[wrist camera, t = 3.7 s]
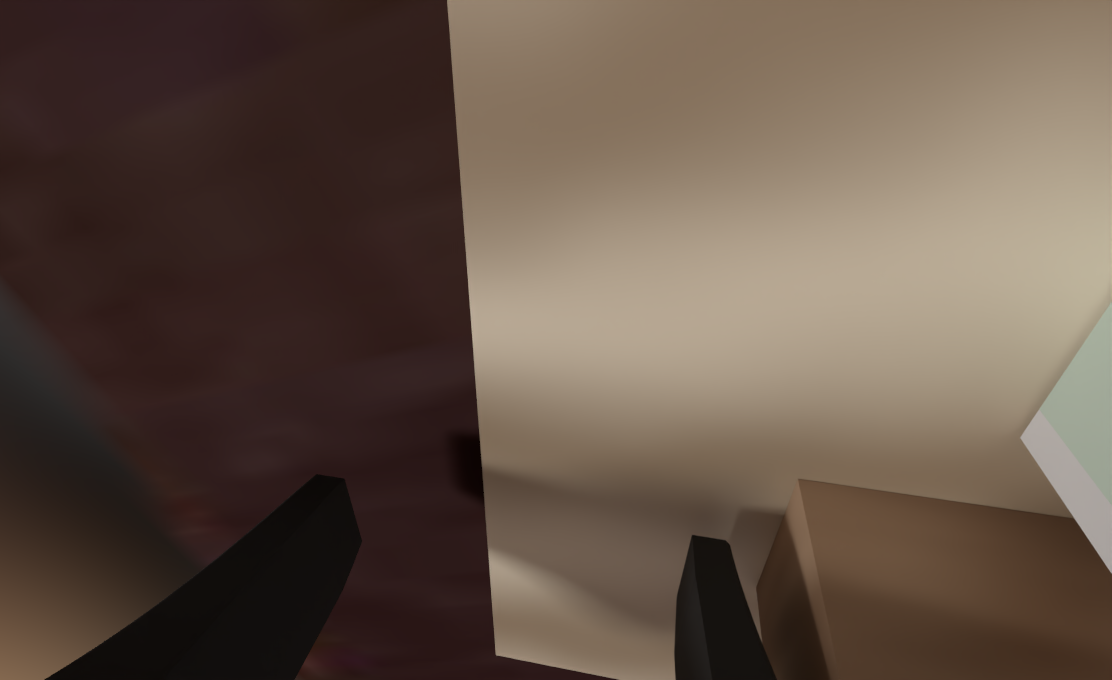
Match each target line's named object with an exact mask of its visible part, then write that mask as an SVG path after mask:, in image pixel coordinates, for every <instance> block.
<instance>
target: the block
mask: <svg viewBox="0 0 1112 680" xmlns="http://www.w3.org/2000/svg"><path fill="white" fill-rule="evenodd" d="M756 592H757V601H758V610H759V618H760V627H761V636H762V644H763V646H764V649H765V651H766V654H767V656H768V659H769V661H770V664H771V666H772V668H773V671H774V673H775V676H776V678H777V680H1112V573H1111V572H1110V570H1109V569H1108V568H1107V566H1106V565H1105V563H1104V562H1103V560H1102V559H1101V557H1100V556H1099V554H1098V553H1097V551H1096V550H1095V548H1094V547H1093V545H1092V544H1091V542H1090V541H1089V539H1088V538H1087V536H1086V535H1085V533H1084V532H1083V530H1082V529H1081V527H1080V526H1079V524H1078V523H1077V522H1076V520H1075V519H1071V518H1064V517H1057V516H1050V515H1043V514H1036V513H1030V512H1023V511H1016V510H1009V509H1002V508H995V507H988V506H981V505H974V504H967V503H960V502H954V501H947V500H940V499H933V498H926V497H919V496H912V495H905V494H898V493H891V492H884V491H878V490H871V489H864V488H857V487H850V486H843V485H836V484H829V483H822V482H815V481H808V480H802V479H798V480H797V482H796V485H795V488H794V490H793V493H792V495H791V498H790V501H789V503H788V506H787V508H786V511H785V514H784V516H783V519H782V521H781V524H780V527H779V529H778V532H777V534H776V537H775V540H774V542H773V545H772V547H771V550H770V553H769V555H768V558H767V560H766V563H765V566H764V568H763V571H762V573H761V576H760V579H759V581H758V584H757V586H756Z"/></svg>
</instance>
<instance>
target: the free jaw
mask: <svg viewBox="0 0 1112 680" xmlns="http://www.w3.org/2000/svg"><path fill="white" fill-rule="evenodd" d="M1020 438H1021V440H1022V441H1023V443H1024V444H1025V446H1026V447H1027V449H1028V450H1029V452H1030V453H1031V455H1032V456H1033V458H1034V459H1035V461H1036V462H1037V464H1038V465H1039V467H1040V468H1041V470H1042V471H1043V473H1044V474H1045V476H1046V477H1047V478H1048V480H1049V481H1050V483H1051V484H1052V486H1053V487H1054V489H1055V490H1056V492H1057V493H1058V495H1059V496H1060V498H1061V499H1062V501H1063V502H1064V504H1065V505H1066V507H1067V508H1068V510H1069V511H1070V513H1071V514H1072V516H1073V517H1074V519H1075V520H1076V522H1077V523H1078V524H1079V526H1080V527H1081V529H1082V530H1083V532H1084V533H1085V535H1086V536H1087V538H1088V539H1089V541H1090V542H1091V544H1092V545H1093V547H1094V548H1095V550H1096V551H1097V553H1098V554H1099V556H1100V557H1101V559H1102V560H1103V562H1104V563H1105V565H1106V566H1107V568H1108V569H1109V570H1110V572H1111V573H1112V302H1111V304H1110V305H1109V306H1108V308H1107V309H1106V311H1105V312H1104V314H1103V315H1102V317H1101V318H1100V320H1099V321H1098V323H1097V324H1096V326H1095V327H1094V329H1093V330H1092V332H1091V333H1090V335H1089V336H1088V338H1087V339H1086V341H1085V342H1084V344H1083V345H1082V347H1081V348H1080V349H1079V351H1078V352H1077V354H1076V355H1075V357H1074V358H1073V360H1072V361H1071V363H1070V364H1069V366H1068V367H1067V369H1066V370H1065V372H1064V373H1063V375H1062V376H1061V378H1060V379H1059V381H1058V382H1057V384H1056V385H1055V387H1054V388H1053V390H1052V391H1051V393H1050V394H1049V395H1048V397H1047V398H1046V400H1045V401H1044V403H1043V404H1042V406H1041V407H1040V409H1039V410H1038V412H1037V413H1036V415H1035V416H1034V418H1033V419H1032V421H1031V422H1030V424H1029V425H1028V427H1027V428H1026V430H1025V431H1024V433H1023V434H1022V436H1021V437H1020Z"/></svg>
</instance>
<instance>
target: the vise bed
mask: <svg viewBox="0 0 1112 680" xmlns="http://www.w3.org/2000/svg"><path fill="white" fill-rule="evenodd" d="M447 2H448V16H449V29H450V43H451V56H452V69H453V83H454V96H455V110H456V123H457V137H458V150H459V164H460V177H461V191H462V204H463V218H464V231H465V244H466V258H467V271H468V285H469V298H470V312H471V325H472V339H473V352H474V366H475V379H476V392H477V406H478V419H479V433H480V446H481V460H482V473H483V487H484V500H485V514H486V527H487V541H488V554H489V567H490V581H491V594H492V608H493V621H494V635H495V648H496V655H499V656H504V657H509V658H514V659H519V660H524V661H529V662H534V663H539V664H544V665H549V666H554V667H559V668H564V669H569V670H574V671H579V672H584V673H589V674H594V675H599V676H604V677H609V678H614V679H619V680H675V660H674V645H675V621H676V600H677V593H678V589H679V585H680V581H681V577H682V573H683V569H684V565H685V561H686V557H687V553H688V549H689V545H690V541H691V537H692V535H697V536H703V537H709V538H716V539H722V540H726V541H727V542H728V543H729V544H730V546H731V551H732V555H733V559H734V562H735V566H736V569H737V573H738V576H739V579H740V582H741V585H742V588H743V592H744V595H745V598H746V600H747V603H748V606H749V609H750V612H751V615H752V618H753V620H754V623H755V626H756V628H757V631H758V634H759V636H760V639H761V641H762V636H761V627H760V618H759V610H758V601H757V592H756V586H757V584H758V581H759V579H760V576H761V573H762V571H763V568H764V566H765V563H766V560H767V558H768V555H769V553H770V550H771V547H772V545H773V542H774V540H775V537H776V534H777V532H778V529H779V527H780V524H781V521H782V519H783V516H784V514H785V511H786V508H787V506H788V503H789V501H790V498H791V495H792V493H793V490H794V488H795V485H796V482H797V480H798V479H802V480H808V481H815V482H822V483H829V484H836V485H843V486H850V487H857V488H864V489H871V490H878V491H884V492H891V493H898V494H905V495H912V496H919V497H926V498H933V499H940V500H947V501H954V502H960V503H967V504H974V505H981V506H988V507H995V508H1002V509H1009V510H1016V511H1023V512H1030V513H1036V514H1043V515H1050V516H1057V517H1064V518H1071V519H1074V517H1073V516H1072V514H1071V513H1070V511H1069V510H1068V508H1067V507H1066V505H1065V504H1064V502H1063V501H1062V499H1061V498H1060V496H1059V495H1058V493H1057V492H1056V490H1055V489H1054V487H1053V486H1052V484H1051V483H1050V481H1049V480H1048V478H1047V477H1046V476H1045V474H1044V473H1043V471H1042V470H1041V468H1040V467H1039V465H1038V464H1037V462H1036V461H1035V459H1034V458H1033V456H1032V455H1031V453H1030V452H1029V450H1028V449H1027V447H1026V446H1025V444H1024V443H1023V441H1022V440H1021V438H1020V437H1021V436H1022V434H1023V433H1024V431H1025V430H1026V428H1027V427H1028V425H1029V424H1030V422H1031V421H1032V419H1033V418H1034V416H1035V415H1036V413H1037V412H1038V410H1039V409H1040V407H1041V406H1042V404H1043V403H1044V401H1045V400H1046V398H1047V397H1048V395H1049V394H1050V393H1051V391H1052V390H1053V388H1054V387H1055V385H1056V384H1057V382H1058V381H1059V379H1060V378H1061V376H1062V375H1063V373H1064V372H1065V370H1066V369H1067V367H1068V366H1069V364H1070V363H1071V361H1072V360H1073V358H1074V357H1075V355H1076V354H1077V352H1078V351H1079V349H1080V348H1081V347H1082V345H1083V344H1084V342H1085V341H1086V339H1087V338H1088V336H1089V335H1090V333H1091V332H1092V330H1093V329H1094V327H1095V326H1096V324H1097V323H1098V321H1099V320H1100V318H1101V317H1102V315H1103V314H1104V312H1105V311H1106V309H1107V308H1108V306H1109V305H1110V304H1111V302H1112V0H447Z"/></svg>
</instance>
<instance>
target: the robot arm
mask: <svg viewBox="0 0 1112 680" xmlns="http://www.w3.org/2000/svg"><path fill="white" fill-rule="evenodd" d="M361 542H362V540H361V536H360V533H359V529H358V526H357V522H356V518H355V515H354V511H353V508H352V504H351V501H350V497H349V494H348V490H347V487H346V483H345V479H343V478H337V477H330V476H324V475H318V474H316V475H315V476H314V477H313V478H311V479H310V480H309V481H308V482H307V483H305V484H304V485H303V486H302V487H301V488H299V489H298V490H297V491H296V492H295V493H294V494H292V495H291V496H290V497H289V498H288V499H287V500H285V501H284V502H283V503H282V504H281V505H280V506H279V507H277V508H276V509H275V510H274V511H273V512H272V513H270V514H269V515H268V516H267V517H266V518H265V519H263V520H262V521H261V522H260V523H259V524H258V525H256V526H255V527H254V528H253V529H252V530H250V531H249V532H248V533H247V534H246V535H244V536H243V537H242V538H241V539H240V540H238V541H237V542H236V543H235V544H234V545H232V546H231V547H230V548H229V549H228V550H226V551H225V552H224V553H223V554H221V555H220V556H219V557H218V558H217V559H215V560H214V561H213V562H212V563H210V564H209V565H208V566H207V567H205V568H204V569H203V570H202V571H200V572H199V573H198V574H196V575H195V576H194V577H193V578H191V579H190V580H189V581H187V582H186V583H185V584H183V585H182V586H181V587H180V588H178V589H177V590H176V591H174V592H173V593H172V594H170V595H169V596H168V597H167V598H165V599H164V600H163V601H161V602H160V603H159V604H157V605H156V606H154V607H153V608H152V609H150V610H149V611H148V612H146V613H145V614H143V615H142V616H141V617H139V618H138V619H136V620H135V621H134V622H132V623H131V624H130V625H128V626H126V627H125V628H123V629H122V630H121V631H119V632H118V633H116V634H115V635H113V636H112V637H110V638H109V639H108V640H106V641H104V642H103V643H102V644H100V645H99V646H97V647H95V648H94V649H92V650H91V651H89V652H88V653H86V654H85V655H83V656H82V657H80V658H78V659H77V660H75V661H74V662H72V663H71V664H69V665H67V666H66V667H64V668H63V669H61V670H60V671H58V672H56V673H55V674H53V675H51V676H50V677H48V678H46V679H45V680H294V679H295V678H296V676H297V674H298V672H299V670H300V668H301V667H302V665H303V663H304V661H305V659H306V657H307V655H308V654H309V652H310V650H311V648H312V646H313V644H314V643H315V641H316V639H317V637H318V635H319V633H320V632H321V630H322V628H323V626H324V624H325V622H326V620H327V619H328V617H329V615H330V613H331V611H332V609H333V607H334V605H335V604H336V602H337V600H338V598H339V596H340V594H341V592H342V590H343V588H344V585H345V583H346V580H347V578H348V576H349V573H350V571H351V568H352V566H353V563H354V561H355V558H356V555H357V553H358V550H359V548H360V545H361ZM674 660H675V680H777V678H776V676H775V673H774V671H773V668H772V666H771V664H770V661H769V659H768V656H767V654H766V651H765V649H764V646H763V644H762V641H761V639H760V636H759V634H758V631H757V628H756V626H755V623H754V620H753V618H752V615H751V612H750V609H749V606H748V603H747V600H746V598H745V595H744V592H743V588H742V585H741V582H740V579H739V576H738V573H737V569H736V566H735V562H734V559H733V555H732V551H731V546H730V544H729V543H728V542H727V541H726V540H722V539H716V538H709V537H703V536H697V535H692V537H691V541H690V545H689V549H688V553H687V557H686V561H685V565H684V569H683V573H682V577H681V581H680V585H679V589H678V593H677V600H676V621H675V645H674Z"/></svg>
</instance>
